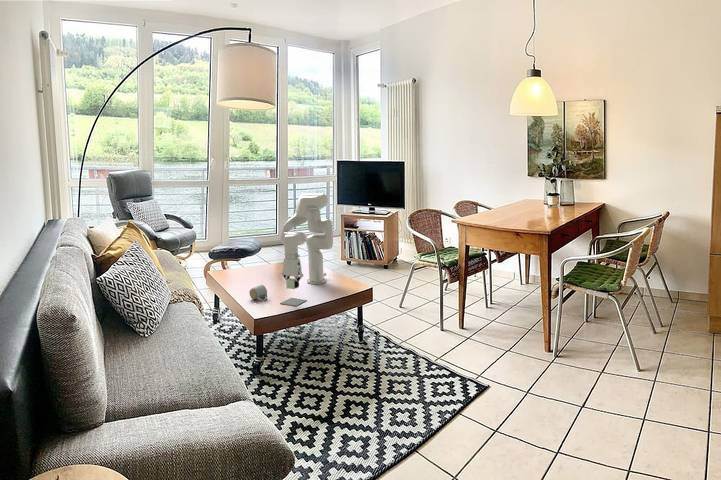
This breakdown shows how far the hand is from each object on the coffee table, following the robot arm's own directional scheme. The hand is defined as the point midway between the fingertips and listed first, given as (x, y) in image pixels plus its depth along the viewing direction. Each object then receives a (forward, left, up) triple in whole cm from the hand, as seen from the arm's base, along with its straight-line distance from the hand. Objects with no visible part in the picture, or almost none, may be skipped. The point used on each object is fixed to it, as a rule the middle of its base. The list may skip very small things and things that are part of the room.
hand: (292, 286), depth 270 cm
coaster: (0, 0, -9) cm, 9 cm away
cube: (0, 0, -1) cm, 1 cm away
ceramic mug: (+2, -22, -10) cm, 24 cm away
